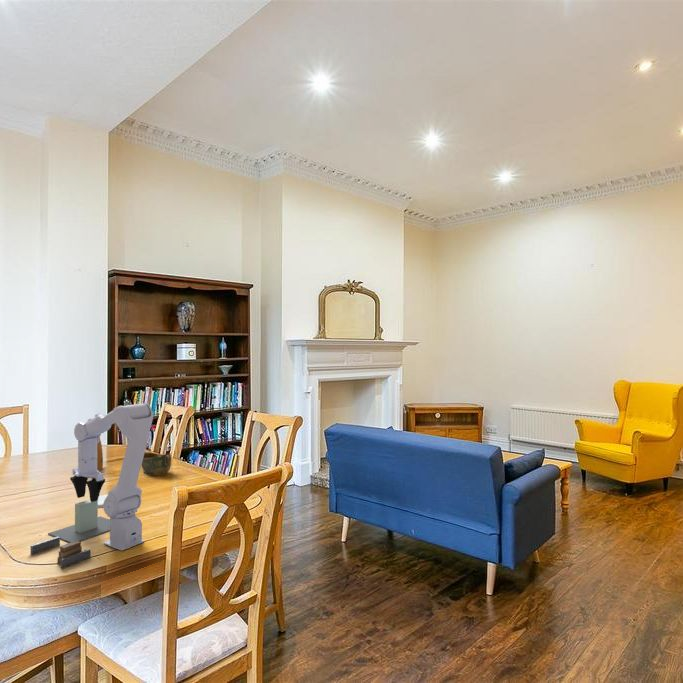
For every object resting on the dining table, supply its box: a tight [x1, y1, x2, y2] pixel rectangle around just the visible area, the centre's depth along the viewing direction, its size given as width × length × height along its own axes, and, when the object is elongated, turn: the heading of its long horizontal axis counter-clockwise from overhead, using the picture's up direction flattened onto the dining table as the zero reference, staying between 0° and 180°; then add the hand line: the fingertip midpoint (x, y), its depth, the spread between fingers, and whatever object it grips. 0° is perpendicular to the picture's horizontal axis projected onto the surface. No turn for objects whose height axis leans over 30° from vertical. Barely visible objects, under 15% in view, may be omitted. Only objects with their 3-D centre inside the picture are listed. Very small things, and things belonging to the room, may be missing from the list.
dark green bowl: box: [141, 451, 172, 477], centre depth 233 cm, size 13×20×10 cm, turn 25°
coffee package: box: [97, 436, 104, 472], centre depth 238 cm, size 10×12×22 cm
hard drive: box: [98, 493, 108, 509], centre depth 192 cm, size 2×8×12 cm
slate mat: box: [47, 516, 110, 544], centre depth 164 cm, size 14×18×1 cm
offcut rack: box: [30, 537, 92, 570], centre depth 144 cm, size 17×8×2 cm, turn 58°
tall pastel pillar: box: [74, 499, 99, 533], centre depth 163 cm, size 3×6×9 cm, turn 148°
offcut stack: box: [56, 541, 83, 566], centre depth 141 cm, size 2×6×5 cm, turn 148°
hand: (87, 499), depth 164 cm, fingers open, 7 cm apart
